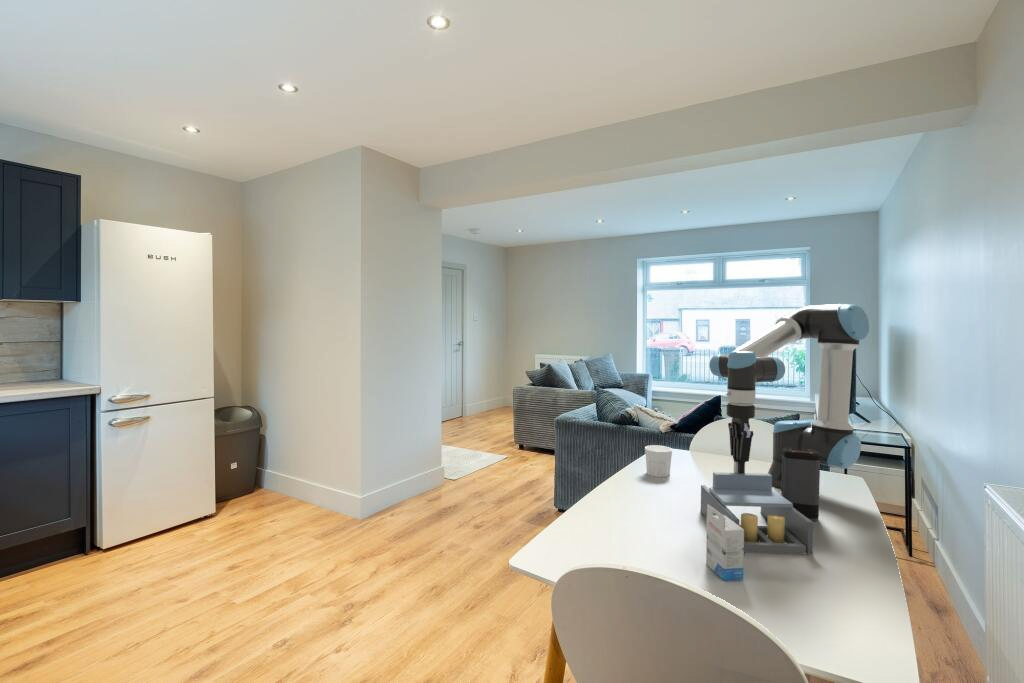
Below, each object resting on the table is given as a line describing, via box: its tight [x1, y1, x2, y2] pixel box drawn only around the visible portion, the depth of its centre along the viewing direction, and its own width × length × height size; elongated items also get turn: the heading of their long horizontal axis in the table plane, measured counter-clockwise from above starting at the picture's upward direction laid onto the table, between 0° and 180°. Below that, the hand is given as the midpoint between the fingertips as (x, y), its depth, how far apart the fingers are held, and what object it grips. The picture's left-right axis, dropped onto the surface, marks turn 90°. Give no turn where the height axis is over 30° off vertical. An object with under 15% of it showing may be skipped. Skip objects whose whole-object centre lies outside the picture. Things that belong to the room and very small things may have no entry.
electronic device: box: [780, 448, 821, 522], centre depth 146 cm, size 9×6×20 cm, turn 71°
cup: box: [644, 444, 673, 478], centre depth 187 cm, size 10×10×10 cm
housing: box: [700, 484, 814, 555], centre depth 136 cm, size 19×27×8 cm
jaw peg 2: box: [766, 514, 785, 543], centre depth 128 cm, size 4×4×7 cm
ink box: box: [705, 504, 745, 582], centre depth 113 cm, size 9×5×15 cm, turn 5°
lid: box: [708, 471, 793, 508], centre depth 137 cm, size 18×12×6 cm, turn 86°
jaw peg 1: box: [740, 512, 759, 542], centre depth 129 cm, size 4×4×7 cm
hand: (738, 482), depth 144 cm, fingers closed
